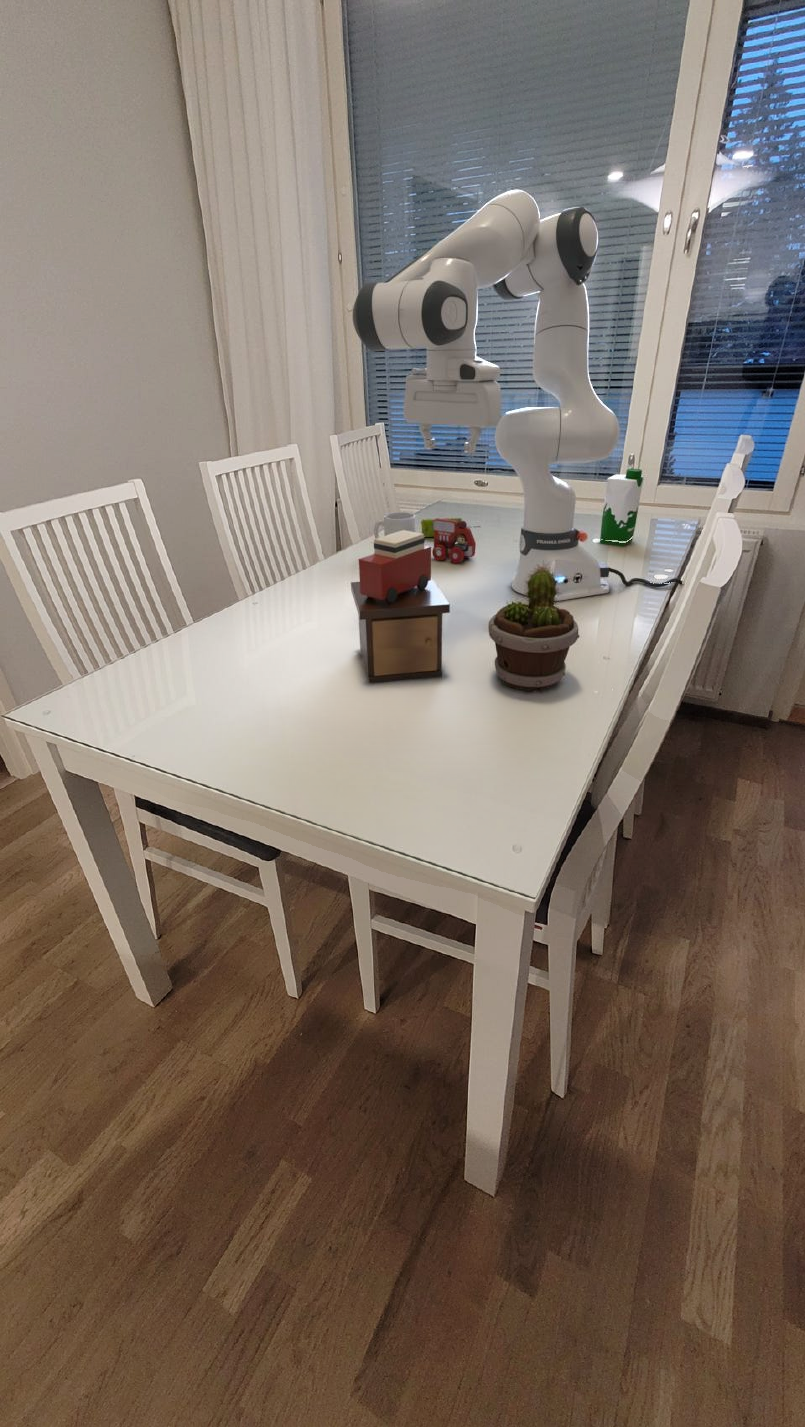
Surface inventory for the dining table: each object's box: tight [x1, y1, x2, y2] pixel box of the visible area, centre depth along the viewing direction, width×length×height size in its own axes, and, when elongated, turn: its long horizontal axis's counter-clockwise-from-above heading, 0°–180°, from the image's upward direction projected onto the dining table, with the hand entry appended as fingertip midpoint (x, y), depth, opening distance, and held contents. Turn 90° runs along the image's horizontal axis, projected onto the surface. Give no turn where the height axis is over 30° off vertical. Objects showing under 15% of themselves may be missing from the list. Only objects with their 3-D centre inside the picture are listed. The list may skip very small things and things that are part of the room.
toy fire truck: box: [431, 517, 477, 564], centre depth 172 cm, size 7×12×10 cm, turn 58°
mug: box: [373, 511, 416, 539], centre depth 176 cm, size 12×8×11 cm
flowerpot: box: [488, 561, 580, 692], centre depth 107 cm, size 14×15×20 cm
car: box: [358, 530, 432, 603], centre depth 109 cm, size 13×5×10 cm, turn 140°
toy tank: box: [420, 517, 481, 538], centre depth 192 cm, size 7×19×10 cm
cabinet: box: [350, 576, 451, 684], centre depth 114 cm, size 15×16×14 cm
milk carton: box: [599, 468, 645, 547], centre depth 181 cm, size 9×9×20 cm
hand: (449, 451), depth 122 cm, fingers open, 8 cm apart
